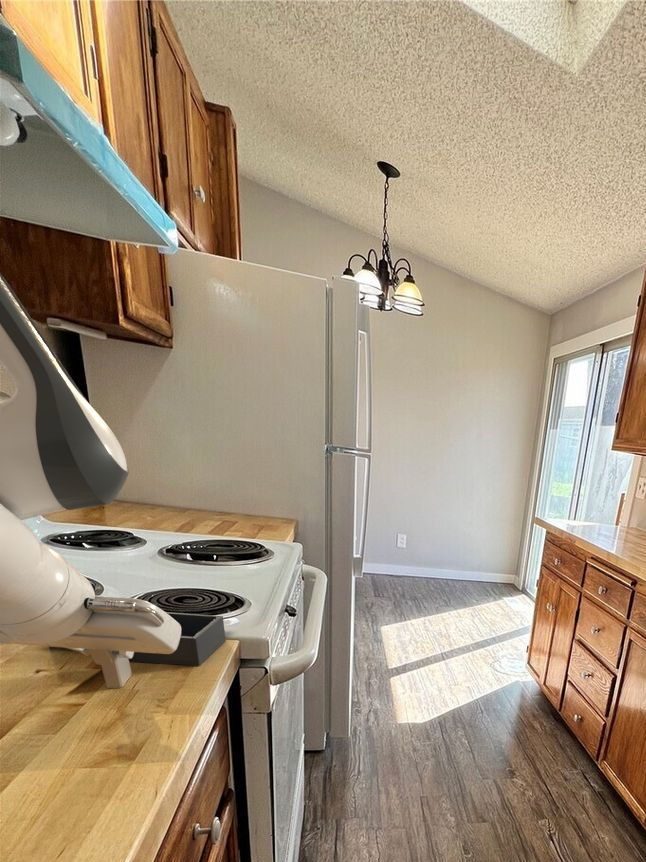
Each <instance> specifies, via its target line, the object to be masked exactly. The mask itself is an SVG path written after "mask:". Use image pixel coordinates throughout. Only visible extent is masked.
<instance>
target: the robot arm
mask: <svg viewBox="0 0 646 862" xmlns="http://www.w3.org/2000/svg"><path fill="white" fill-rule="evenodd" d="M0 365H1V366H2V368H3V370H5V372H6V373H7V375H8V376H9V377H10V379H11V380H12V382H13V384H14V387H15V388H14V389H15V390H14V392H13V394H12V395H11V397H10V398H7V399H5V400H2V401H0V644H5V645H19V646H21V645H22V646H36V647H49V646H50V647H65V648H68V649H72V650H75V651H74V652H79V653H80V654H82V655H83V656H85V657H86V656H87V657H92V656H91V654H90V653H89V651H88V649H97V650H113V651H112V654H114V655H115V656H117V657H118V658H132V657H133V654H134V652H144V653H160V654H171V653H173V652H174V651H175V650H176V649H177V647H178V644H179V641H180V637H181V626H180V624H179V623H178V622H177V621H176V620H174V619H173V618H172V617H171V616H170V615H168V614H167V613H166V612H167V611H164V610H163V609H161V607H159V606H158V605H156V604H154V603H152V602H149V601H147V600H144V599H139V598H133V597H123V596H122V597H121V596H108V595H96V593H95V590H94V587H93V585H92V583H91V582H90V581H89V580H88V579H87V578H86V577H85V576H84V575H83V574H82V573H81V572H80V571H79V570H77V568H75V567H74V566H73V565H72V564H71V563H70V562H69V561H68V560H66V558H64V557H63V556H62V555H61V554H60V553H58V551H56V550H55V549H53V548H52V547H51V546H49V545H46V544H44V543H42V542H40V541H39V539H38V537H37V535H36V533H35V532H33V530H32V529H31V528H30V527H29V526H28V525H27V524H26V523H25V522H23V521H24V520H28V519H32V518H36V517H41V516H44V515H49V514H53V513H57V512H62V511H66V510H67V511H73V510H81V509H87V508H95V507H101V506H108V505H110V504H112V502H113V501H114V500H115V499H116V498H117V496H118V495H119V494H120V492H121V491H122V489H123V487H124V485H125V483H126V481H127V479H128V476H129V474H130V469H129V465H128V464H127V457H126V456H125V452H124V450H123V448H122V445H121V444H120V442H119V440H118V438H117V437H116V435H115V433H114V432H113V431H112V429H111V428H110V426H108V424H107V423H106V421H105V420H104V419H103V418H102V416H101V415H100V414H99V413H98V412H97V411H96V410H95V408H93V407H92V405H91V404H90V403H89V402H88V400H87V399H86V397H85V396H84V394H83V393H82V392H81V390H80V389H79V387H78V386H77V385H76V383H75V382H74V380H73V379H72V377H71V375H69V373H68V371H67V369H66V368H65V367H64V365H63V364H62V362H61V361H60V359H59V358H58V356H57V355H56V353H55V351H54V350H53V348H52V347H51V345H50V344H49V343H48V341H47V339H46V338H45V337H44V335H43V333H42V332H41V331H40V329H39V328H38V325H36V324H35V322H34V320H33V319H32V317H31V316H30V314H29V313H28V311H27V310H26V308H25V307H24V305H23V304H22V302H21V301H20V299H19V298H18V296H17V295H16V293H15V292H14V290H13V289H12V287H11V286H10V284H9V283H8V282H7V280H6V279H5V277H4V275H3V274H2V273H1V272H0Z"/></svg>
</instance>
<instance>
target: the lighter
mask: <svg viewBox="0 0 646 862" xmlns="http://www.w3.org/2000/svg"><path fill="white" fill-rule="evenodd" d="M88 651H89V653H90V654H91V656H90V657H91V658H92V660H93V662H94V664H96V665H100V666H101V667H100V668H101V670H102V675H103V679H104V683H105V687H106V689H115V688H116V689H120V688H124V686H125V685H126V683H127V681H129V679H130V678H131V676H132V675H133V673H132V668H131V662H129V659H128V658H118V657H117V656H115V655H114V654H112V651H113V650H97V649H88Z"/></svg>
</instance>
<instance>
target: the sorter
mask: <svg viewBox="0 0 646 862" xmlns="http://www.w3.org/2000/svg"><path fill="white" fill-rule="evenodd" d="M165 612H166V613H167V614H168V615H170V616H171V617H172V618H173V619H174V620H176V621H177V622H178V623H179V624H180V626H181V637H180V641H179V644H178V647H177V649H176V650H175V651H174V652H173V653H171V654H160V653H144V652H134V654H133V657H132V658H128V659H129V663H141V664H142V663H144V664H158V665H159V664H160V665H161V664H162V665H174V666H175V665H178V666H190V667H191V666H193V667H201V665H202V664H203V663H204V662H205V661H207V660H208V659H209V658H210V657H211V656H212V655H213V654H214V653H215V652H216V651H217V650H218V649H219V648H221V646H222V645H224V643H225V642H227V639H226V632H225V631H226V630H225V623H224V616H223V615H212V614H197V613H184V612H169V611H165ZM48 648H49V650H57V651H72V652H76V651H75V650H72V649H68V648H65V647H50V646H48Z"/></svg>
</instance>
